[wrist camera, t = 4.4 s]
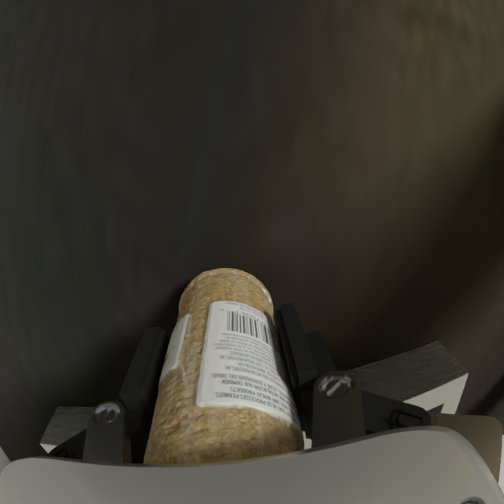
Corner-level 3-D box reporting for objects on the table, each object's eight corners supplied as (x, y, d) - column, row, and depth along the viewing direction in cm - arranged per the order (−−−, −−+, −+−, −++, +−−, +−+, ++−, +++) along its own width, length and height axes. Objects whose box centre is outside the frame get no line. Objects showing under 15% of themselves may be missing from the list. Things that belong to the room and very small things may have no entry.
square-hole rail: (437, 340, 18) (468, 372, 15) (416, 432, 22) (433, 462, 18) (57, 406, 18) (39, 443, 14) (118, 482, 22) (112, 514, 18)
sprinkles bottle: (161, 298, 15) (68, 589, 2) (237, 245, 14) (263, 618, 1) (219, 359, 16) (215, 620, 4) (291, 316, 16) (376, 598, 3)
